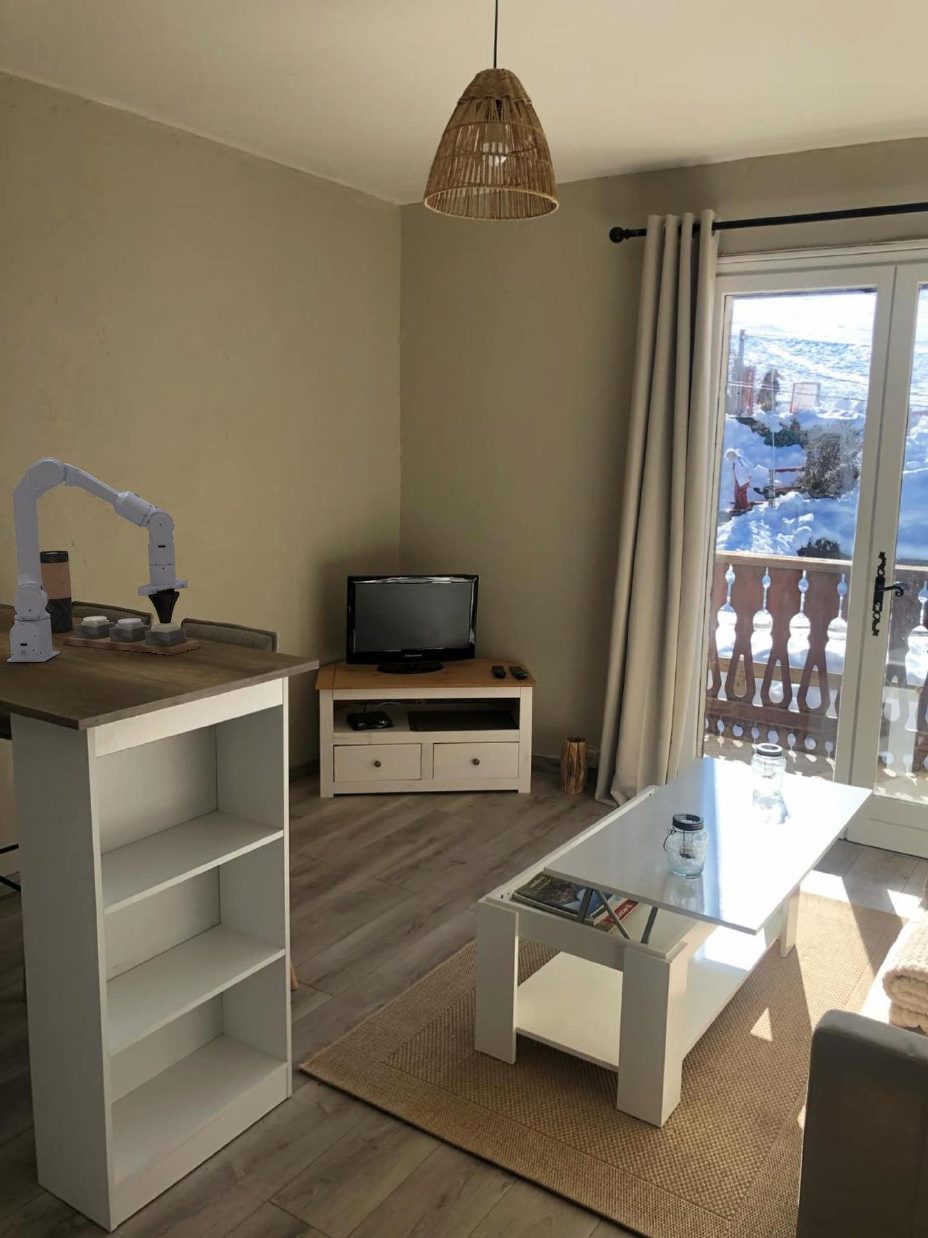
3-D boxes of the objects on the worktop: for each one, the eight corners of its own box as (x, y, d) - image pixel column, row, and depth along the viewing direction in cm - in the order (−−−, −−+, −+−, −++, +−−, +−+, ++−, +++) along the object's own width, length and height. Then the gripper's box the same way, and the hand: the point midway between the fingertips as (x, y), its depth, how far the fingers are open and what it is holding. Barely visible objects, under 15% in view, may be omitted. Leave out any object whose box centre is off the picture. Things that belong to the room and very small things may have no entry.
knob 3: (182, 640, 234) (181, 622, 233) (167, 644, 229) (166, 625, 228) (164, 638, 236) (163, 620, 235) (149, 642, 231) (148, 624, 230)
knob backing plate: (199, 647, 235) (199, 628, 234) (171, 655, 226) (170, 635, 225) (94, 637, 248) (93, 619, 247) (63, 644, 239) (61, 625, 238)
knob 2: (146, 637, 238) (145, 619, 237) (131, 641, 233) (130, 622, 232) (129, 635, 240) (128, 617, 239) (113, 639, 235) (112, 621, 235)
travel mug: (79, 630, 257) (74, 551, 254) (49, 634, 252) (44, 554, 249) (65, 626, 263) (60, 549, 259) (36, 630, 257) (30, 552, 254)
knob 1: (112, 634, 242) (111, 617, 241) (96, 638, 237) (95, 620, 237) (95, 633, 244) (94, 615, 244) (79, 636, 240) (78, 618, 239)
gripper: (154, 568, 221) (157, 629, 223) (197, 561, 234) (199, 619, 236) (129, 566, 224) (132, 627, 226) (172, 560, 237) (175, 617, 239)
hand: (165, 623), depth 232 cm, fingers closed, pressing on knob 3
